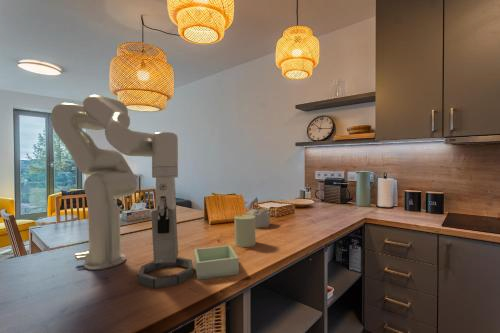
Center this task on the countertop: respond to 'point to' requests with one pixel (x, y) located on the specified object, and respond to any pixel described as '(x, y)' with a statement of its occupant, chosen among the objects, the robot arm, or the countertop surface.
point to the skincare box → (165, 239)
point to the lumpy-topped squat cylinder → (260, 217)
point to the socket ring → (165, 280)
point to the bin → (215, 262)
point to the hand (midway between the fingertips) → (165, 228)
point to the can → (244, 230)
